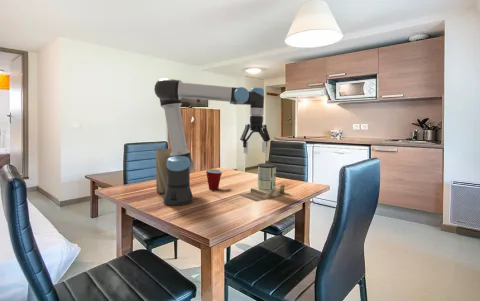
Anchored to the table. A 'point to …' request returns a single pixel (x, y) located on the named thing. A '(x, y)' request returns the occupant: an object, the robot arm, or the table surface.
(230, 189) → the table surface
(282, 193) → the board
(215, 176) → the plastic cup
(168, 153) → the tan tall block
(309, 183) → the table surface
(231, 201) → the table surface
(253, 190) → the beige ridged square block
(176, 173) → the robot arm
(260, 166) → the coffee can
